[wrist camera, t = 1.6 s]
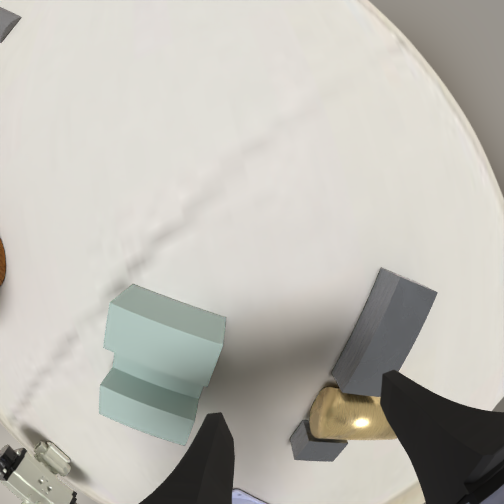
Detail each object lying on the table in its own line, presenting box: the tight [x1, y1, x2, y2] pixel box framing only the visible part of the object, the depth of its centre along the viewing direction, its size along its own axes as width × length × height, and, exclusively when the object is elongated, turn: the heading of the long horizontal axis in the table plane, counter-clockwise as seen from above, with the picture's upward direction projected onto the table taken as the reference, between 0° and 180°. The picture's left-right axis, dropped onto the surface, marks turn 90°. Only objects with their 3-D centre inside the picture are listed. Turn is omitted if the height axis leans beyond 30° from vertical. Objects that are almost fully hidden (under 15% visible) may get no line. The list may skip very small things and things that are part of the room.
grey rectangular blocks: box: [290, 268, 438, 461], centre depth 19 cm, size 4×18×3 cm, turn 160°
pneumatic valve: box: [0, 441, 77, 504], centre depth 16 cm, size 6×12×12 cm, turn 33°
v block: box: [99, 284, 226, 446], centre depth 17 cm, size 7×10×4 cm
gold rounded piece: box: [309, 387, 397, 440], centre depth 19 cm, size 8×4×4 cm, turn 70°
